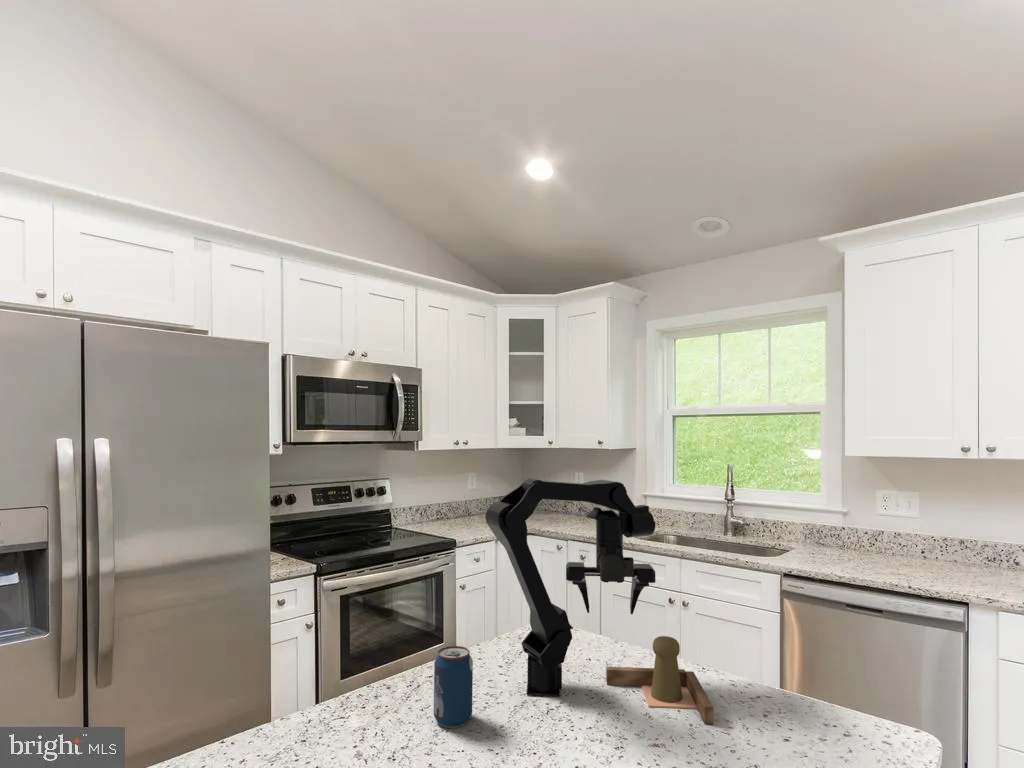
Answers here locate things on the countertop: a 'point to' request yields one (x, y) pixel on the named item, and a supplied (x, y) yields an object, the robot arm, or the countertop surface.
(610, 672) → the corner arena
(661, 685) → the olive pepper mill
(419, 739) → the countertop surface
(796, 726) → the countertop surface
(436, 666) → the soda can
